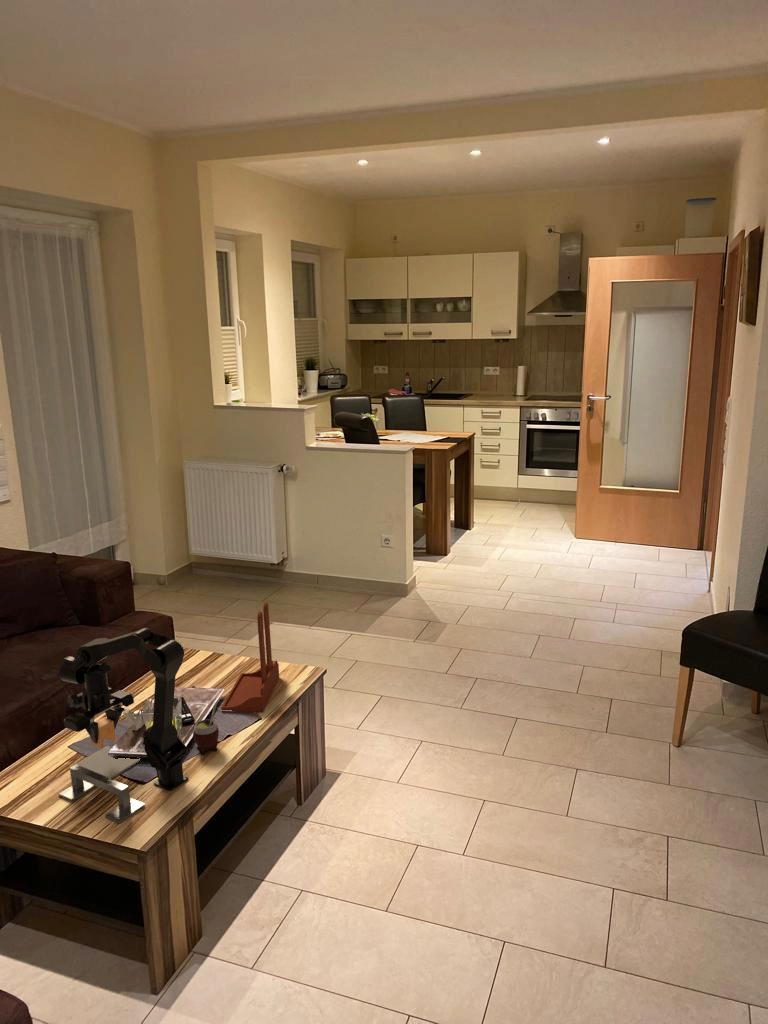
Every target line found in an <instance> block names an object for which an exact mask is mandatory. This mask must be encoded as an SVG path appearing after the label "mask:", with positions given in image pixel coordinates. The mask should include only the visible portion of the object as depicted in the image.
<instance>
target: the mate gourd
mask: <svg viewBox="0 0 768 1024" xmlns="http://www.w3.org/2000/svg"><path fill="white" fill-rule="evenodd" d="M222 698H223V695H221V696H220V697H219V698H218V699H217V700H216V701H215V703H214V704H213V707H212V711H211V712H212V713H211V716H210V719H202V720H200V721H197V722H196V724H195V725H194V726H193V732H192V738H193V741H194V742H195V744H196V749H197V750H200V751H201V752H200V755H201V756H205V755H206V753H207V752H218V750H219V748H217V747H218V741H219V733H220V731H219V728H218V724H217V723H216V722H215V721H214V715H215V711H216V709H217V705H218V703H219V702H220V700H221V699H222Z"/></svg>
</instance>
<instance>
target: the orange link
mask: <svg viewBox="0 0 768 1024" xmlns="http://www.w3.org/2000/svg"><path fill="white" fill-rule="evenodd" d="M95 722H96V723H98V742H97V743H94V742H93V741H92V739H91V738H90V741H91V745H93V746H96V747H97V748H101V749H103V748H105V742H104V739H106V740H108V741H110V742H114V741H116V740H117V738H116V732H115V730H116V729H115V730H114V722H113V721H112V720H110V719H107V717H101V718H100V719H98V720H95Z"/></svg>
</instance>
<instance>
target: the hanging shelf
mask: <svg viewBox="0 0 768 1024" xmlns="http://www.w3.org/2000/svg"><path fill="white" fill-rule="evenodd" d="M269 612H270V610H269V603H268V602H264V604H263V612H262V611H259V612H258V613H257V622H256V623H257V632H258V634H257V635H258V649H259V659H260V660H259V661H260V662H259V663H260V669H258V670H257V671H253V672H246V673H245V672H241V673H240V674H239V676H238V678H237V680H236V681H235V683H234V685H233V687H232V688H231V690H230V692H229V693H228V695H227V696H226V699H225V700H224V702H223V703H222V705H221V707H220V709H221V710H232V711H242V712H241V713H264V711H265V709H266V707H267V705H268V703H269V700H270V699H271V697H272V694H273V692H274V691H275V687H276V686H277V684H278V681H279V680H280V667H279V665H280V664H279V663H278V660H274V661H273V658H272V656H273V655H272V644H271V643H272V642H271V639H272V638H271V629H270V613H269Z"/></svg>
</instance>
